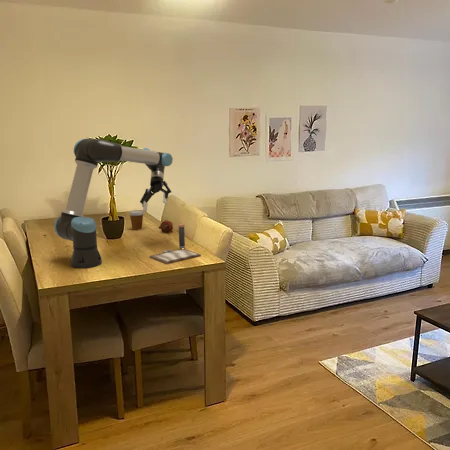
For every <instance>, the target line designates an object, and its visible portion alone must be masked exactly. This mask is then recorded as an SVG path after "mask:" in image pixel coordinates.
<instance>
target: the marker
mask: <svg viewBox="0 0 450 450" xmlns="http://www.w3.org/2000/svg"><path fill="white" fill-rule="evenodd" d="M177 227H178V248H180V249H182V248H184V249H186V246H185V245H186V240H185V238H186V237H185V223H178V226H177Z"/></svg>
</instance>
